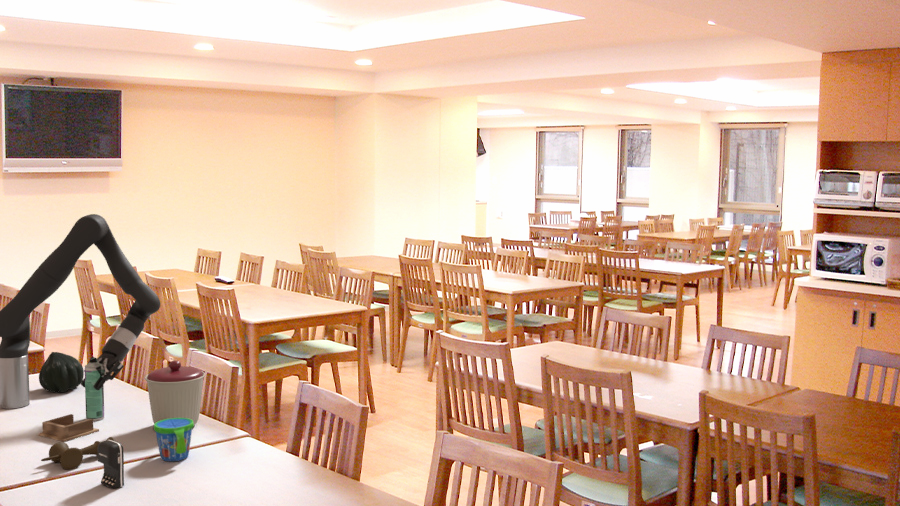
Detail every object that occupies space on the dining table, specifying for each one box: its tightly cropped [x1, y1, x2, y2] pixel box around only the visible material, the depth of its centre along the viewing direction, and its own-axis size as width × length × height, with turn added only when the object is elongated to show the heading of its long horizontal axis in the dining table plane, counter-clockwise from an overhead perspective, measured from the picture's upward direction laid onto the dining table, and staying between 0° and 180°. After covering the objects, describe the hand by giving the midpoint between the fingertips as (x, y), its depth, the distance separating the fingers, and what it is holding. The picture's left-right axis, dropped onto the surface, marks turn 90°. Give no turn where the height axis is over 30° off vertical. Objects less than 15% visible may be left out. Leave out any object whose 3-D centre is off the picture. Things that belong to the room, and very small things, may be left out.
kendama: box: [40, 436, 116, 471], centre depth 228 cm, size 6×10×20 cm
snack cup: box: [153, 418, 195, 462], centre depth 231 cm, size 16×10×10 cm
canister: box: [144, 360, 206, 426], centre depth 259 cm, size 18×18×21 cm
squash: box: [38, 351, 85, 393], centre depth 300 cm, size 14×15×15 cm
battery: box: [96, 439, 125, 489], centre depth 210 cm, size 7×4×11 cm, turn 54°
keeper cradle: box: [38, 413, 100, 443], centre depth 252 cm, size 12×12×4 cm
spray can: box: [84, 357, 105, 422], centre depth 266 cm, size 6×6×20 cm
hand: (89, 387), depth 264 cm, fingers closed on spray can, 5 cm apart
